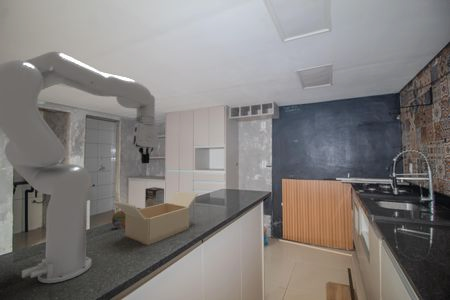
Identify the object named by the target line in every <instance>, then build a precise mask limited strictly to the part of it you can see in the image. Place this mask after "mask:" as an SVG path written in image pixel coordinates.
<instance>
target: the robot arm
mask: <svg viewBox="0 0 450 300" xmlns="http://www.w3.org/2000/svg"><path fill="white" fill-rule="evenodd" d="M60 84H62V85H66V86H67V87H71V88H73V89H76V90H79V91H83V92H84V93H87V94H90V95H93V96H97V97H115V98H116V102H117V103H118V104H119V105H120V106H121V107H122V108H123V107H124V108H127V109H135V110H136V117H134V118H133V121H135V122H136V123H135V124H134V128H133V134H132V145H133V147H132V148H133V150H136V151H138V152H139V154H140V155H141V157H140V160H141V163H142V164H149V163H150V155H151V154H152V152H153V151H156V150H157V147H159V134H158V128H157V125H156V123H155V121H156V118H155V116H156V115H155V112H156V111H155V110H156V109H155V106H156V98H155V96H154V95H153V94H151V91H150V90H149V89H148V87H146V86H145V85H144V84H142V83H139V82H137V81H136V80H134V79H131V78H128V77H125V76H121V75H115V74H112V73H107V72H103V71H101V70H99V69H97V68H95V67H93V66H91V65H88V64H86V63H84V62H82V61H80V60H78V59H77V58H75V57H73V56H70V55H68V54H67V53H63V52H60V51H49V52H45V53H43V54H40V55H37V56H35V57H33V58H30V59H27V60H17V59H16V60H10V61H5V62H4V63H3V62H2V63H1V64H0V130H1V132H2V133H3V134H4V136H5V137H6V138H7V139H8V142H7V143H6V145H5V147H4V155H5V158H6V160H7V161H8V163H9V164H10V165H11V166H12V168H14V169H15V171H17V172H18V174H20V176H21V177H22V178H23V179H24V180H25V181H26V182H27V183H28V184H29V185H30V186H31V187H32V188H33V189H34V190H35V191H36V192H39V193H41V194H43V195H44V194H45V195H50V199H49V202H48V205H47V209H46V218H45V219H46V227H45V229H46V230H45V258H42V259H41V262H40V263H38V264H37V265H35V266H33V267H29V268H26V269H23V270H21V278H22V279H24V278H27V277H30V278H31V279H32V278H36V277H37V281H38V282H40V283H43V284H53V283H59V282H64V281H69V280H70V279H73V278H75V277H77V276H80V275H82V274H83V273H85V272H87V271H88V270H89V269H90V268H91V266H92V265H93V261H92V258H90V257H89V256H87V223H88V222H87V217H88V216H87V215H88V213H87V211H88V210H87V209H88V196H89V192H90V187H91V184H92V182H91V181H92V178H91V175H90V172H89V171H88V170H87V169H86V168H85V167H83V166H81V165H78V164H71V163H70V164H67V163H66V164H65V163H61V162H62V161H64V159H65V157H66V147H65V146H64V145H63V142H62V141H61V140H60V139H59V137H58V136H57V135H56V134H55V132H54V131H53V129H52V128H51V127H50V126H49V124H48V122H46V120H45V119H44V117H43V115H42V114H41V112H40V110H39V107H38V99H39V96H40V93H41V91H42V90H43V91H44V90H45V89H48V88H50V87H53V86H55V85H60ZM60 163H61V164H60Z"/></svg>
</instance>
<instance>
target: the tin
mask: <svg viewBox="0 0 450 300" xmlns="http://www.w3.org/2000/svg"><path fill="white" fill-rule="evenodd" d="M136 208H137V209H142V207H136ZM125 218H126V214H125V213H124V212H123V211H122V210H121V209H119V211H116V212H115V213H114V214H113V216H112V218H111V222H112V225H113V227H114V228H116V229H118V230H119V229H125Z"/></svg>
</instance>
